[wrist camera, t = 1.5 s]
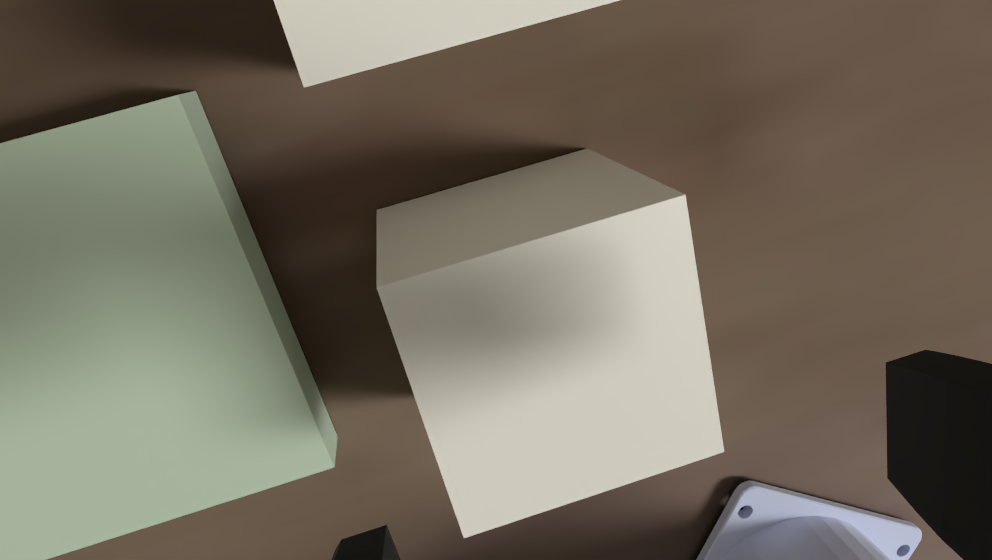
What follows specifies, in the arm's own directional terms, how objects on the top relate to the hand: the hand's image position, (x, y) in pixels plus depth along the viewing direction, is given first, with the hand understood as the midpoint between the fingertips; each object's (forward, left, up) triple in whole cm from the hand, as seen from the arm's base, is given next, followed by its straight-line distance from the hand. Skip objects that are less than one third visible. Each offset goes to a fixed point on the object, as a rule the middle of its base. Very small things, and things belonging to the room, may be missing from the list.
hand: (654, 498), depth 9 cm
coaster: (-5, +10, -10) cm, 15 cm away
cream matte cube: (0, 0, -10) cm, 10 cm away
